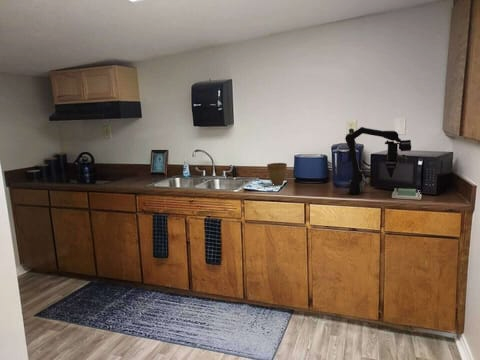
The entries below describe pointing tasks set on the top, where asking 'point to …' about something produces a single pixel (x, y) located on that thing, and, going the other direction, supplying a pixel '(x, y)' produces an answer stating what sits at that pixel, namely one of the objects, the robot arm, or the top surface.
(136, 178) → the top surface
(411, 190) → the circuit board
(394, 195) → the chassis plate
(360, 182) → the mechanical component
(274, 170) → the plant pot
